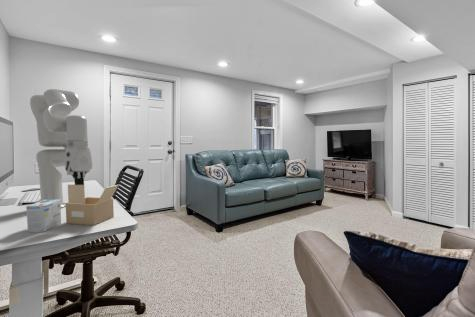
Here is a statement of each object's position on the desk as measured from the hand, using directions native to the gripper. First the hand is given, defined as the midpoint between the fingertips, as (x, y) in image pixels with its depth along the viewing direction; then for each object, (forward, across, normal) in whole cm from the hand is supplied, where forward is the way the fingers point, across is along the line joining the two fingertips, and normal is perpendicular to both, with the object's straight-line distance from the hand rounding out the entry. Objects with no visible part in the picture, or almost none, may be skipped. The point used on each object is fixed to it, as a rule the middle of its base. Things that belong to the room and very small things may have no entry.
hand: (79, 187), depth 105 cm
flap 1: (+3, -2, 0) cm, 3 cm away
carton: (+16, +5, -1) cm, 17 cm away
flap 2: (+3, +4, -10) cm, 12 cm away
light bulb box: (+16, -7, +10) cm, 21 cm away
